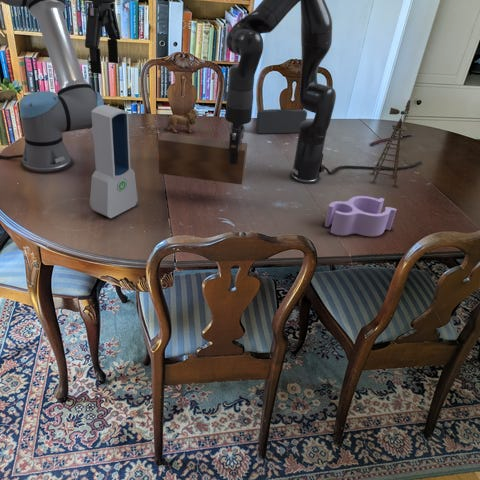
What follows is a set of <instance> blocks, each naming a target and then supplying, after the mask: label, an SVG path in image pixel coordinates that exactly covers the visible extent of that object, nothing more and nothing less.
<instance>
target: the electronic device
mask: <svg viewBox="0 0 480 480" xmlns="http://www.w3.org/2000/svg"><path fill="white" fill-rule="evenodd" d="M91 115H92V127H93V128H92V136H93V139H92V140H93V149H94V162H95V170H94V172H93V173H92V175H91V184H90V194H89V196H90V197H89V205H90V207H91V210H93V211H94V212H96V213H98V214H100V215H102V216H105V217H106V218H108V219H113V218H114V217H117V216H119V215H120V214H122V213H124V212H126V211H128V210H130V209H132V208H134V207H135V206H136V205H137V203H138V201H139V199H138V189H137V181H136V172H135V170H134V169H132V168H131V149H130V146H131V145H130V122H129V121H130V119H129V111H126V110H124V109H120V108H118V107H114V106H111V105H107V104H104V105H101V106H98V107H96V108H95V109H93V110H92V111H91Z"/></svg>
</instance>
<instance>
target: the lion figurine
mask: <svg viewBox="0 0 480 480" xmlns="http://www.w3.org/2000/svg"><path fill="white" fill-rule="evenodd" d="M199 117H200V114H199V110H197V109H195V108H193V109H190V111H189V112H188V113H186V114H185V115H177V114H172V115H170V116H169V117H168V119H167V124H166V126H165V128H163V131H167V130H169V131H170V130H171V126H172V130H173V132H174V133H178V130H176V126H177V124H178V125H180V126H185V130H186V131H188V133H192V130H191V128H192V125H193V126H194V125H195V124H196V122H198V119H199Z"/></svg>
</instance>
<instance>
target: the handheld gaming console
mask: <svg viewBox="0 0 480 480" xmlns="http://www.w3.org/2000/svg"><path fill="white" fill-rule="evenodd" d="M307 117H308V111H307V110H305V109H302V108H301V109H295V108H287V109H286V108H285V109H284V108H283V109H282V108H281V109H280V108H277V109H275V108H274V109H259V110H258V111H257V113H256V121H255V131H256V133H257V134H290V133H291V134H293V133H295V134H296V133H298V134H299V130H300V125H301V123H302V122H303V121H306V120H307Z"/></svg>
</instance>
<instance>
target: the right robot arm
mask: <svg viewBox="0 0 480 480" xmlns="http://www.w3.org/2000/svg"><path fill="white" fill-rule="evenodd" d="M299 3H300V19H301V20H300V45H301V69H300V83H299V105H300V107H301V109H302V110H305V111H307V112H309V113H313V114H314V117H313V119H306V121H303V122H302V123H301V125H300V130H299V133H298V136H297V143H296V149H295V155H294V161H293V166H292V170H291V178H292V179H293V180H295V181H297V182H300V183H302V184H303V183H304V184H312V183H315V182H317V181H318V179H319V178H320V173H321V174H322V173H323V172H325V171H326V173H327V174H328V175H333V174H335V173H336V172H337V171H338V170H340V169H366V170H367V169H368V170H374V169H375V167H376V166H366V165H340V166H337V167H335V168H334V170H333V171H330V169H329V168H328V167H327V166H326V165H324V164H323V159H324V152H323V151H324V146H325V141H326V138H327V137H326V136H327V132H328V129H329V126H330V125H331V120H332V116H333V112H334V109H335V104H336V99H337V92H336V90H335V89H334V88H333V87H332V86H328V85H325V84H321V83H319V82H318V70H319V67H320V65H321V64H322V62H323V61H324V59H325V57H326V56H327V54H328V53H329V51H330V49H331V47H332V42H333V19H332V16H331V13H330V10H329V8H328V5H327V3H326V0H262V1H261V2H260V3H259V4H258V5H257V7H256V8H255V9H254V10H253V11H252V12H250V13H248V14H247V15H245V16H243V18H241V19H239V21H237V22H236V23H235V24H234V25H233V26H232V27H231V28H230V29H229V31H228V32H227V35H226V38H225V43H226V47H227V50H228V51H230V52H231V53H232V54H234V55H237V56H240V57H239V61H238V63H236V64H233V65H232V66H230V68H229V72H228V86H227V92H226V98H225V99H226V101H225V112H224V113H225V115H224V116H225V117H224V118H225V121H226V122H228V123H230V124H231V125H230V127H229V139H228V141H229V152H230V163H231V164H237V158H238V151H239V145H240V144H241V143H243V139H244V135H245V134H244V133H245V129H246V126H245V125H247V124H249V123H251V121H252V116H253V106H254V87H255V76H256V72H257V70H258V67H259V64H260V61H261V59H262V55H263V52H264V39H263V36H262V35H263V34H269V33H271V32H273V31H274V30H275V29H276V28H277V26H279V24H280V23H281V22H282V21H283V20H284V18H285V17H286V16H287V15H288V14H289V13H290V12H291V11H292V10H293V8H294V7H296V5H298V4H299ZM232 145H235V146H236V148H232ZM422 162H423V161H421V160H420V161H419V160H418V161H417V162H415V163H413V164H410V165H405V166H398V169H397V170H403V169H404V170H405V169H410V168H413V167H416V166H418V165H419V164H422ZM392 167H393V168H394V166H392ZM378 169H379V166H378V167H377V170H378ZM380 170H392V169H391V168H385V167H381V169H380Z"/></svg>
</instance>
